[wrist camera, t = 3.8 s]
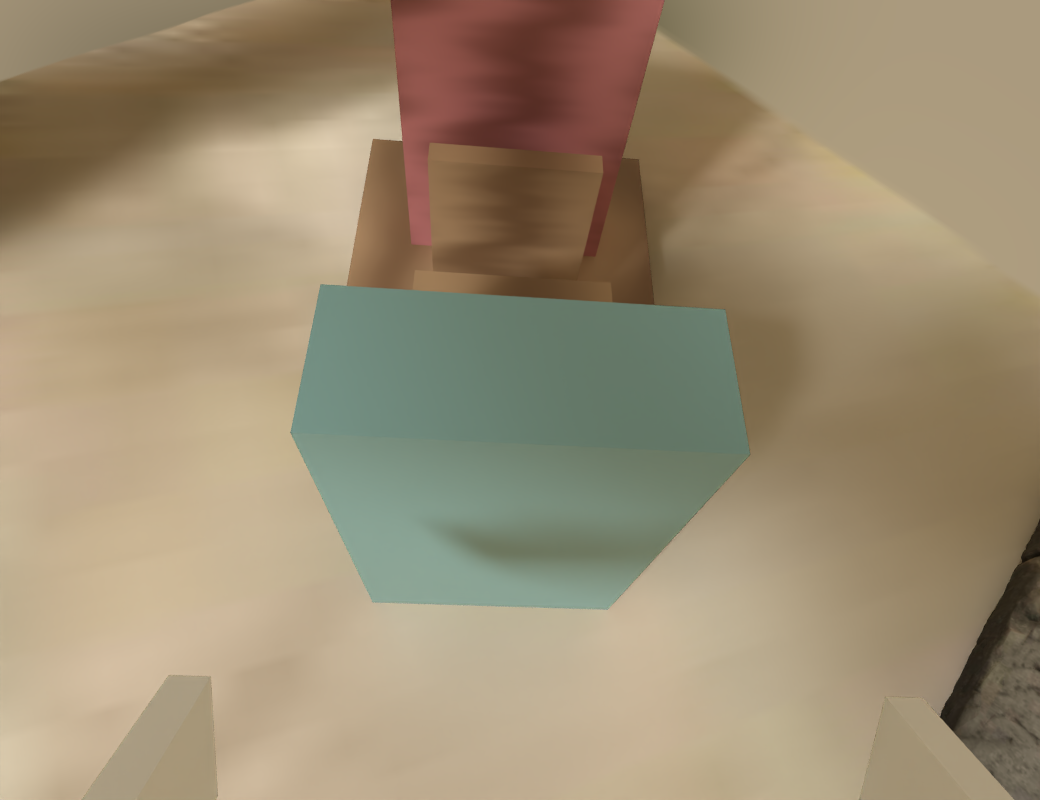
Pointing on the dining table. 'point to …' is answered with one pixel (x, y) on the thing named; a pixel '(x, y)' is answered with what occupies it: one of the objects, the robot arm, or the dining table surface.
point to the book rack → (511, 152)
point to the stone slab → (1005, 685)
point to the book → (513, 439)
